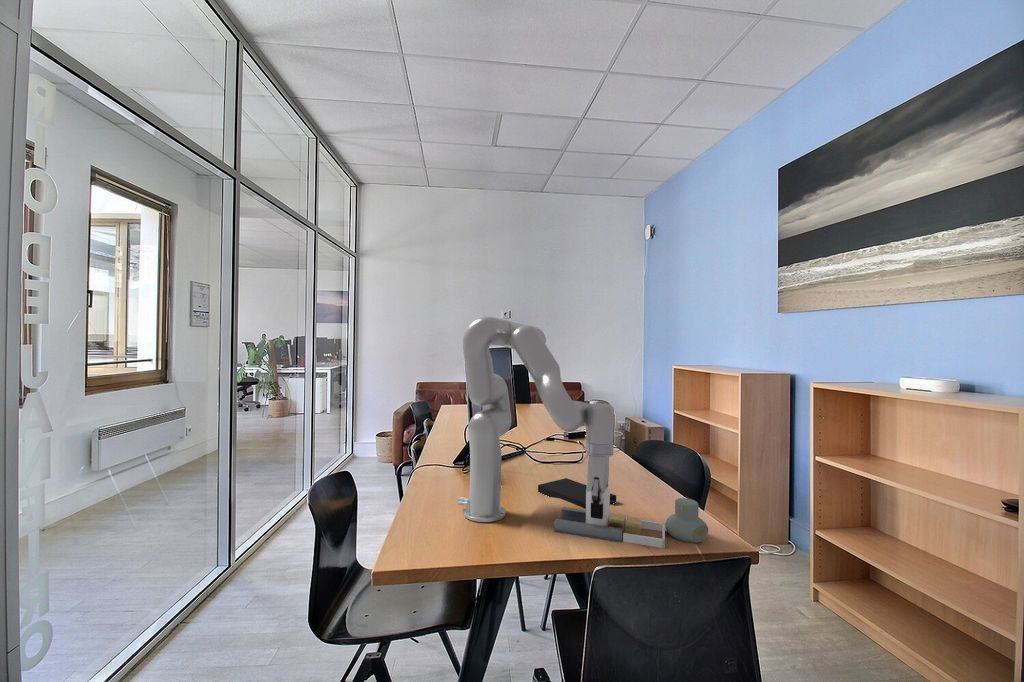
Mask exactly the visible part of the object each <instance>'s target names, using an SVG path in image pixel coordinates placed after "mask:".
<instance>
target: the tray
mask: <svg viewBox="0 0 1024 682" xmlns="http://www.w3.org/2000/svg"><path fill="white" fill-rule="evenodd" d="M641 520H642V527H641V529H644V530H652V531H657V532H662V538H659V537H655V536H654V537H653V536H646V535H641V534H640V535H635V534H628V533H625V532H624V533H623V539H622V543H629V544H635V545H642V546H648V547H655V548H660V549H665V548H666V528H665V522H657V521H651V520H643V519H641Z"/></svg>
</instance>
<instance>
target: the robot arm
mask: <svg viewBox="0 0 1024 682" xmlns="http://www.w3.org/2000/svg"><path fill="white" fill-rule="evenodd" d="M546 342H547V338H546V334H545V333H544V331H543V330H542V329H541V328H539V327H536V326H533V325H526V324H522V323H519V322H514V321H510V320H506V319H503V318H497V317H493V316H482V317H480V318H477V319H475V320H474V321H472V322H471V323H470V324H469V325H468V326H467V328H466V329H465V332H464V334H463V338H462V351H463V359H464V366H465V375H466V377H465V378H466V383H467V393H468V398H469V400H470V402H471V403H472V404H473V405H476V406H478V407H482V410H480V411H478V412H476V413H475V414H474V415H473V416H472V417H471V418H470V419H469V422H468V428H467V431H468V433H467V434H468V441H469V454H470V455H469V457H470V458H469V496H468V497H465V496H459V497H458V499H457V500H458V501H457V502H458V503H457V504H458V506H462V507H463V506H464V507H465V508H464V511H463V515H464V516H463V517H465V518H466V519H467V520H469V521H471V522H472V521H473V522H478V523H491V522H496V521H500V520H502V519H504V518H505V516H506V514H507V513H506V509H505V508H504V507H503V506H501V505H502V503H501V502H502V496H501V495H502V448H501V443H500V441H501V440H500V438H501V437H503V436H504V435H506V434H507V433H508V432H509V430H510V428H511V425H512V411H511V403H510V396H509V389H508V385H507V383H506V380H505V379H504V378H503V377H502V376H501V375H499V374H496V373H495V371H494V363H493V358H492V353H491V351H490V346H500V347H504V348H509V349H513V350H514V351H515V352H516V353H517V355H518V356H519V357H518V358H519V359H520V360H521V362H522V363H523V365H524V366H525V368H526V370H527V372H529V375H530V377H531V378H532V379H533V382H534V384H535V387H536V390H537V393H538V395H539V398H540V400H541V402H542V405H543V406H544V408H545V410H546V411H547V412H548V414H549V416H550V417H551V419H552V420H553V422H554V424H556V426H557V427H559V429H560V430H563V431H565V432H570V433H571V432H574V431H577V430H578V429H579V428H581V427H585V429H586V432H585V433H586V435H585V436H586V437H585V454H586V455H588V458H587V459H588V461H587V475H586V485H587V491H588V492H589V491H591V489H592V497H591V518H597V519H602V518H603V504H602V495H603V493H604V492H605V491H606V487H607V484H608V485H609V478H610V477H609V475H610V457H612V456H614V447H615V446H614V445H615V443H614V440H615V439H614V437H615V436H614V432H615V430H614V429H615V410H614V407H613V406H612V404H607V403H602V402H601V403H599V402H598V403H597V402H596V403H595V402H594V403H589V402H585V401H579V400H572V398H571V396H570V395H569V394H568V392H567V390H566V387H565V386H564V384H563V381H562V377H561V368H560V365H559V363H558V361H557V360H556V358H555V356H553V354H552V352H551V350H550V349H549V348H548V346H547V344H546ZM598 490H601V492H598ZM598 494H600V497H599V496H598Z"/></svg>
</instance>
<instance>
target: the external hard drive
mask: <svg viewBox="0 0 1024 682" xmlns="http://www.w3.org/2000/svg"><path fill="white" fill-rule="evenodd" d="M586 489H587V484H585V483H582V482H578V481H576V480H572V479H569V478H567V477H564V478H562V479H556V480H553V481H549V482H545V483H540V484H538V485H537V493H538V492H540V493H539V494H541V493H542V494H541V495H543V494H544V495H543V496H545V495H547V496H546V497H548V496H549V497H548V498H555V499H561V500H562V501H565V502H567V503H570V504H573V505H575V506H578V507H580V508H582V509H584V510H586ZM615 502H616V503H617V495H616V494H613V493H611V492H610V504H612V505H614V504H613V503H615ZM616 503H615V504H616Z"/></svg>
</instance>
